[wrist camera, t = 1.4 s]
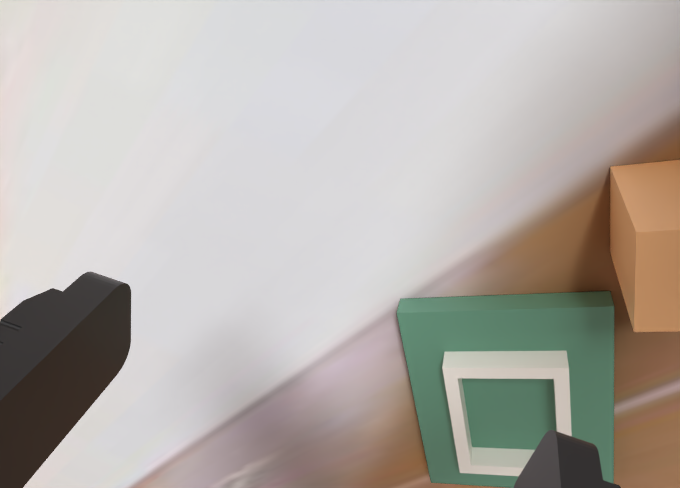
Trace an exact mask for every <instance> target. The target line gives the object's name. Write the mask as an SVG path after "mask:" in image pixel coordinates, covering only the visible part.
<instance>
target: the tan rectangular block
mask: <svg viewBox="0 0 680 488" xmlns="http://www.w3.org/2000/svg"><path fill="white" fill-rule="evenodd" d="M610 253H611V257H612V260H613V264H614V267H615V270H616V274H617V277H618V280H619V284H620V287H621V290H622V294H623V297H624V301H625V304H626V307H627V311H628V314H629V317H630V321H631V324H632V327H633V331H634V332H671V331H680V160H672V161H662V162H651V163H641V164H631V165H621V166H611V167H610Z"/></svg>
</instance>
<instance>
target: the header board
mask: <svg viewBox="0 0 680 488" xmlns="http://www.w3.org/2000/svg"><path fill="white" fill-rule="evenodd" d="M397 317H398V322H399V327H400V332H401V337H402V342H403V347H404V352H405V357H406V362H407V367H408V371H409V376H410V381H411V386H412V391H413V396H414V401H415V406H416V411H417V416H418V421H419V426H420V431H421V436H422V441H423V445H424V450H425V455H426V460H427V465H428V470H429V475H430V480H431V483H445V484H461V485H477V486H493V487H509V488H513V487H514V485H515V483H516V480H517V479H518V477H519V475H520V474H521V472H522V470H523V469H524V467H525V466H526V464H527V462H528V461H529V459H530V457H531V456H532V454H533V453H534V451H535V449H536V448H537V446H538V445H539V443H540V441H541V440H542V438H543V436H544V435H545V434H546V433H547V431H549V430H554V431H557V432H560V433H563V434H566V435H569V436H572V437H575V438H578V439H581V440H584V441H586V442H589V443H592V444H594V445H595V446H596V447H597V449H598V452H599V457H600V464H601V470H602V476H603V480H604V481H607V482H610V483H613V481H614V303H613V300H612V296H611V292H610V291H595V292H568V293H542V294H515V295H488V296H462V297H435V298H408V299H400V302H399V306H398V310H397Z"/></svg>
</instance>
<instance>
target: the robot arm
mask: <svg viewBox="0 0 680 488" xmlns="http://www.w3.org/2000/svg"><path fill="white" fill-rule="evenodd" d="M130 342H131V290H130V287H129V285H128V284H126V283H123V282H120V281H117V280H114V279H111V278H108V277H105V276H102V275H99V274H96V273H94V272H87V273H85V274H83V275H82V276H80V277H79V278H78V279H77V280H76V281H75V282H73V283H72V284H71V285H70V286H69V287H68V288H67V289H65V290H64V291H63V292H62V291H59V290H56V289H53V288H52V289H50V290H48V291H45V292H43V293H41V294H38V295H36V296H34V297H31V298H29V299H26V300H24V301H23V302H21V303H20V304H19V305H18V306H16V307H15V308H14V309H13V310H11V311H10V312H9V313H8V314H7V315H5V316H4V317H3V318H2V319H1V321H0V488H23V487H24V485H25V484H26V483H27V482H28V481H29V479H30V478H31V477H32V476H33V475H34V473H35V472H36V471H37V470H38V469H39V467H40V466H41V465H42V464H43V463H44V461H45V460H46V459H47V458H48V457H49V455H50V454H51V453H52V452H53V451H54V450H55V448H56V447H57V446H58V445H59V444H60V442H61V441H62V440H63V439H64V438H65V436H66V435H67V434H68V433H69V432H70V430H71V429H72V428H73V427H74V426H75V424H76V423H77V422H78V421H79V420H80V418H81V417H82V416H83V415H84V414H85V412H86V411H87V410H88V409H89V408H90V406H91V405H92V404H93V403H94V402H95V400H96V399H97V398H98V397H99V396H100V394H101V393H102V392H103V391H104V390H105V388H106V387H107V386H108V385H109V384H110V382H111V381H112V380H113V379H114V378H115V376H116V375H117V374H118V373H119V371H120V370H121V368H122V366H123V365H124V362H125V360H126V358H127V355H128V352H129V349H130ZM513 488H621V487H620V486H619V485H616V484H613V483H610V482H607V481H604V480H603V476H602V470H601V464H600V457H599V452H598V449H597V447H596V446H595V445H594V444H592V443H589V442H586V441H584V440H581V439H578V438H575V437H572V436H569V435H566V434H563V433H560V432H557V431H554V430H549V431H547V433H546V434H545V435H544V436H543V438H542V440H541V441H540V443H539V445H538V446H537V448H536V449H535V451H534V453H533V454H532V456H531V457H530V459H529V461H528V462H527V464H526V466H525V467H524V469H523V470H522V472H521V474H520V475H519V477H518V479H517V480H516V483H515V485H514V487H513Z"/></svg>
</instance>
